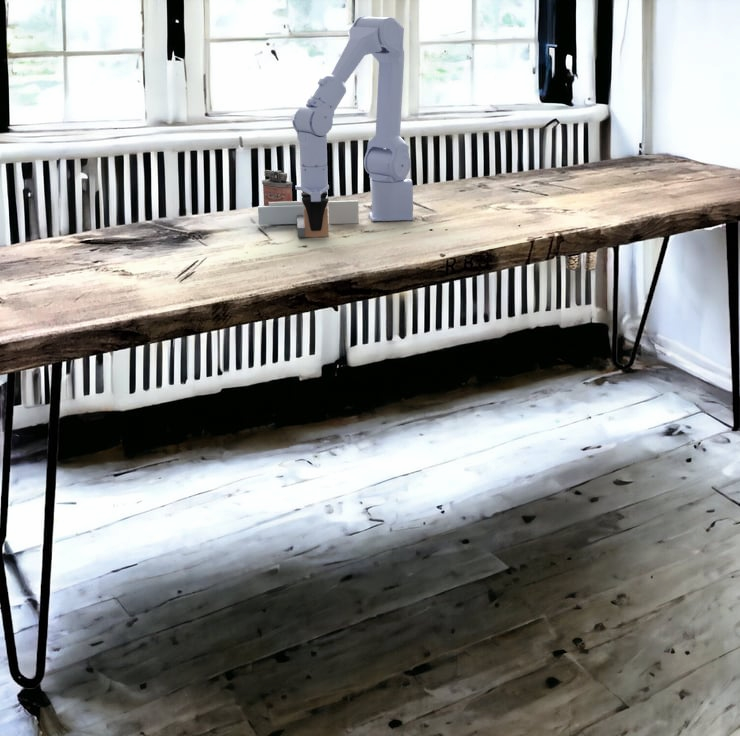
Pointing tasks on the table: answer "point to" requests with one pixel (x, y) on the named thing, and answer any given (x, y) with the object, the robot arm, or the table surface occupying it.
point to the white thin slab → (333, 210)
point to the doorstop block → (316, 233)
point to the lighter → (276, 187)
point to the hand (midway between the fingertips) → (315, 227)
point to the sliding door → (283, 216)
